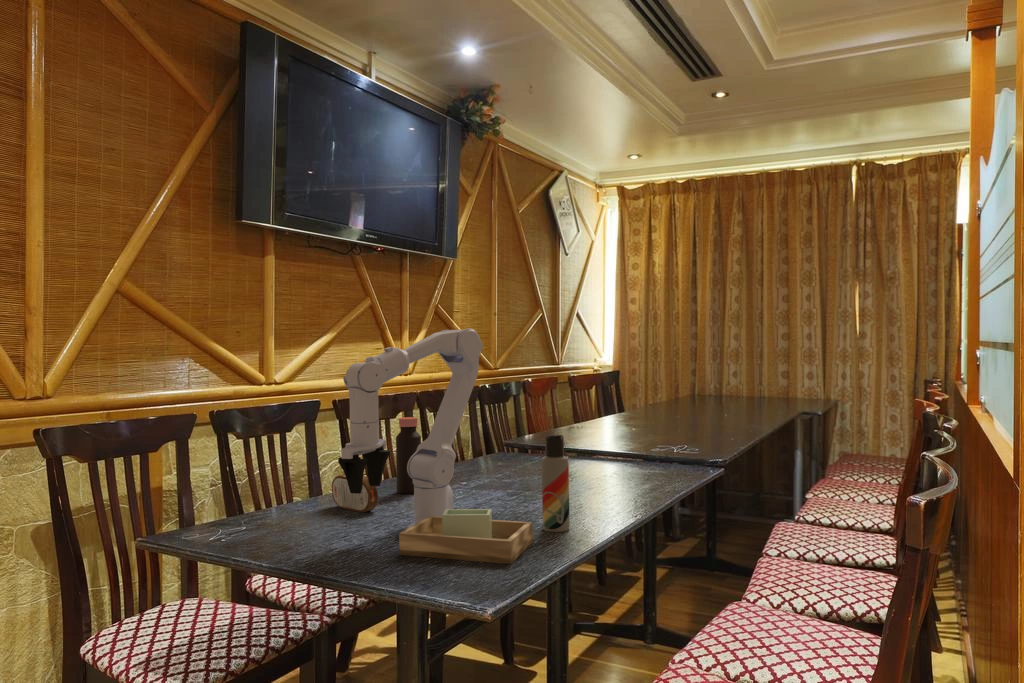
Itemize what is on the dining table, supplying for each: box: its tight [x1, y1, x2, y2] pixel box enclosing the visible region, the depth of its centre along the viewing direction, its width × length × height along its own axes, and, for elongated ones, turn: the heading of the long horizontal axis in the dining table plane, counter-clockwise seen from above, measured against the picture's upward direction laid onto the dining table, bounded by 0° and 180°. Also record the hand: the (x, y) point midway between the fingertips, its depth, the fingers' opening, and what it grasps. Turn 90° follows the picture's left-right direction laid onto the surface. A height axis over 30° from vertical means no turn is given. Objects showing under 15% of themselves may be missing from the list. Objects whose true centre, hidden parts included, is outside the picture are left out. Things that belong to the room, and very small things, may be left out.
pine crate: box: [398, 516, 534, 565], centre depth 134 cm, size 14×22×4 cm, turn 72°
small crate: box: [442, 508, 493, 538], centre depth 134 cm, size 5×9×6 cm, turn 87°
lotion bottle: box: [541, 434, 571, 533], centre depth 147 cm, size 6×6×20 cm
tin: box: [331, 473, 379, 513], centre depth 168 cm, size 15×3×8 cm, turn 51°
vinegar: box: [395, 416, 422, 495], centre depth 188 cm, size 7×7×20 cm
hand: (365, 489), depth 140 cm, fingers open, 7 cm apart
